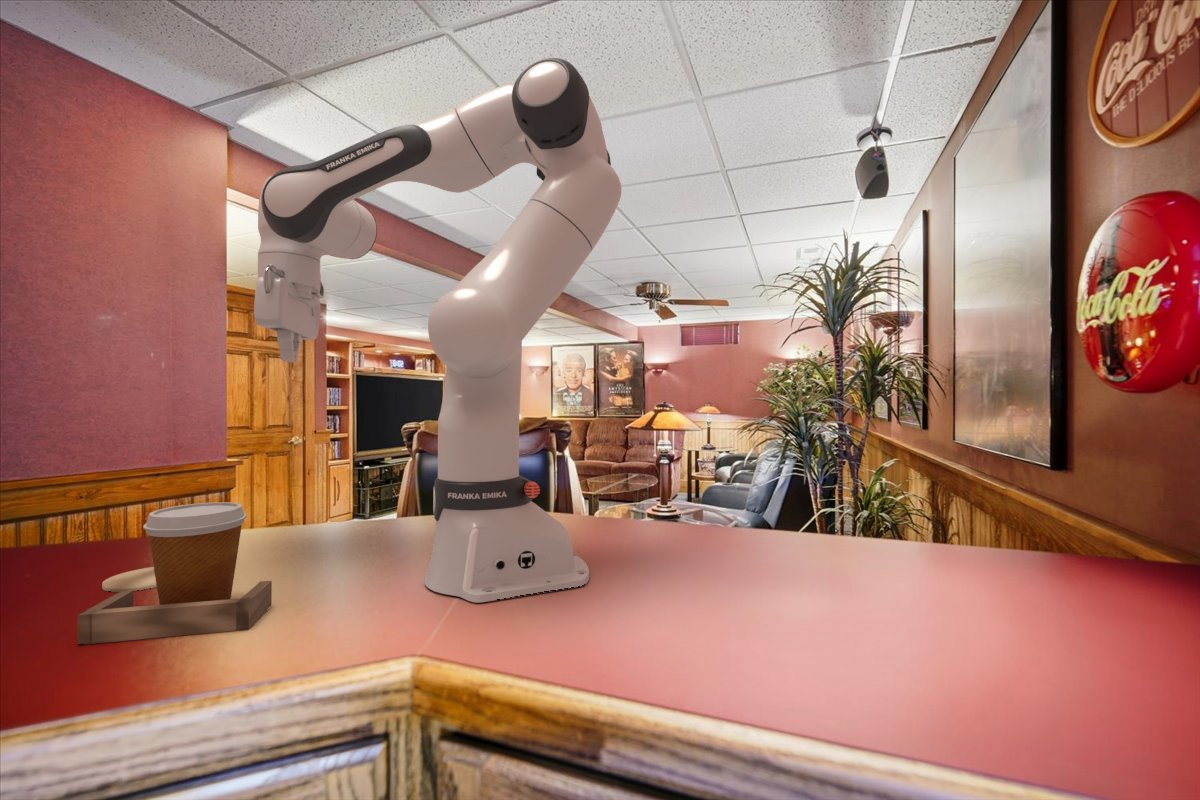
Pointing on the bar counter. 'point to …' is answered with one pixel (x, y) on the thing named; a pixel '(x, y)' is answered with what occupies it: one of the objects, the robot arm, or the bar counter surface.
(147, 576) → the cork coaster
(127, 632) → the walnut bay
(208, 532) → the disposable coffee cup
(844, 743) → the bar counter surface
